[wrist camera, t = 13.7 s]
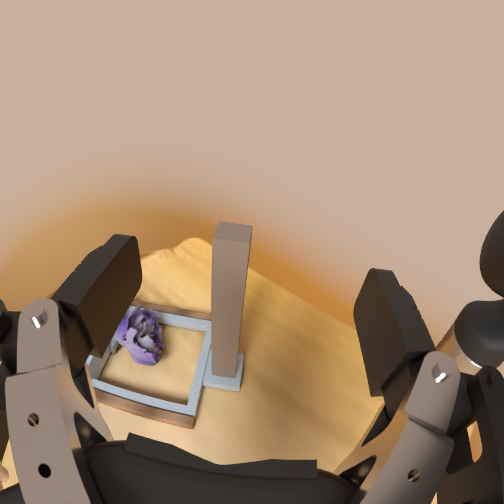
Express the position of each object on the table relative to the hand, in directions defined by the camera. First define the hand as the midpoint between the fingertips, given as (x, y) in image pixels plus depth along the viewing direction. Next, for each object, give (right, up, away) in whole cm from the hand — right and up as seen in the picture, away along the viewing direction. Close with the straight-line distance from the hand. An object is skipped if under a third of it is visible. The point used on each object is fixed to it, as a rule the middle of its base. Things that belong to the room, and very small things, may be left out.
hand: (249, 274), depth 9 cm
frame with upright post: (-12, -16, +28) cm, 35 cm away
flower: (-17, -15, +29) cm, 37 cm away
